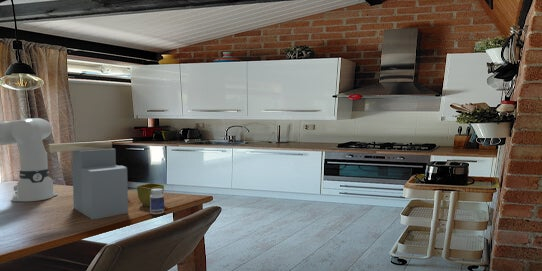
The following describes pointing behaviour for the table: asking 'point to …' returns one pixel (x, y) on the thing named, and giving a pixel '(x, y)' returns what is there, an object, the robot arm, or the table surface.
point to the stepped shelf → (99, 183)
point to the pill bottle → (156, 201)
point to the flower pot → (147, 192)
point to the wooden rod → (79, 146)
